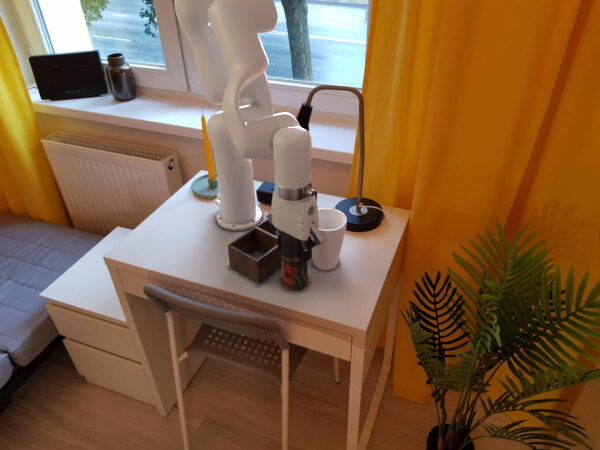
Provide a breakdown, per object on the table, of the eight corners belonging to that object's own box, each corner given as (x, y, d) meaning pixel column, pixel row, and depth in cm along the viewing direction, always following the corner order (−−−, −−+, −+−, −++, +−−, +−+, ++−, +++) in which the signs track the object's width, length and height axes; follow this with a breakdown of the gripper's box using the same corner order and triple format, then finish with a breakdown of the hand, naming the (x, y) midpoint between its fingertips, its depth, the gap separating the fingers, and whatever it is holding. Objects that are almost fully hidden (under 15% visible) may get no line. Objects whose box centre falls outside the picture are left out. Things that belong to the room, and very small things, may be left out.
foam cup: (301, 254, 124) (300, 212, 116) (334, 246, 127) (336, 204, 119) (315, 278, 117) (316, 234, 109) (350, 268, 119) (353, 225, 112)
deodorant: (312, 284, 115) (313, 234, 106) (290, 294, 112) (289, 243, 104) (299, 270, 119) (298, 220, 110) (278, 279, 117) (275, 229, 108)
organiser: (230, 267, 120) (227, 245, 116) (280, 230, 132) (279, 209, 128) (259, 284, 115) (257, 261, 111) (309, 245, 127) (309, 223, 123)
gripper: (338, 193, 98) (335, 261, 109) (274, 167, 107) (277, 232, 118) (315, 210, 93) (314, 279, 104) (250, 181, 102) (255, 248, 113)
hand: (294, 254), depth 111 cm, fingers closed on deodorant, 5 cm apart
